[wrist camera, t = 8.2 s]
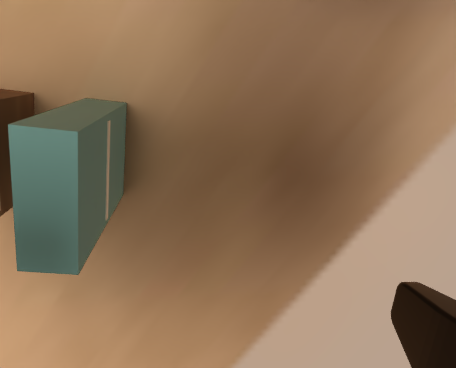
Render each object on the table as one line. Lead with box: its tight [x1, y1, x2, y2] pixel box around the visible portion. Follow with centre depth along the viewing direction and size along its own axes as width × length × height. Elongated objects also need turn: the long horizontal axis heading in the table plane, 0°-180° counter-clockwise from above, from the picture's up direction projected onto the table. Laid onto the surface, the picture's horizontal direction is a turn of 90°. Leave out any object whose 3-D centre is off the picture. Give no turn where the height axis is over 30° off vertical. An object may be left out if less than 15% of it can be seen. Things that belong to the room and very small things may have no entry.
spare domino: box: [8, 98, 127, 275], centre depth 15 cm, size 2×5×8 cm, turn 173°
